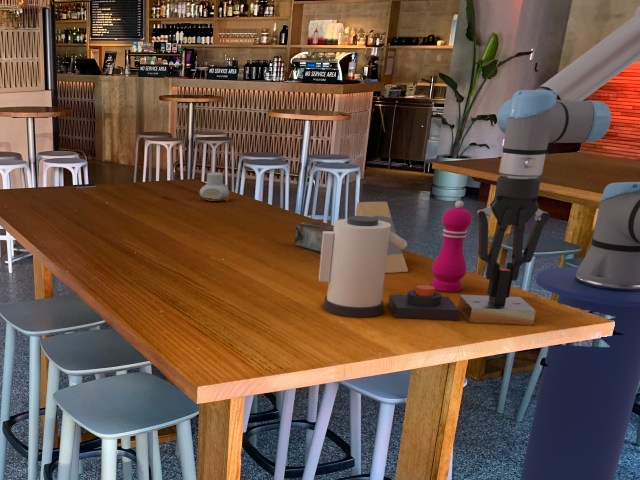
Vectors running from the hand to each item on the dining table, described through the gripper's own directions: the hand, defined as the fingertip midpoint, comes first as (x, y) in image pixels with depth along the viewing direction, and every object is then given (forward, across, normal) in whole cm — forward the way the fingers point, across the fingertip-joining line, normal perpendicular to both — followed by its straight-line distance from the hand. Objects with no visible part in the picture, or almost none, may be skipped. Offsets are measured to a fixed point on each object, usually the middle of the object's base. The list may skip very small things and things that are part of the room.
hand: (497, 295), depth 160 cm
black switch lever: (+1, 0, 0) cm, 1 cm away
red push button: (+1, -14, 0) cm, 14 cm away
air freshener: (+5, -71, +136) cm, 154 cm away
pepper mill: (+5, -6, +21) cm, 22 cm away
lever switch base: (+4, 0, 0) cm, 4 cm away
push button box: (+4, -14, 0) cm, 15 cm away
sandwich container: (+5, -19, +41) cm, 46 cm away
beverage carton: (+5, -32, +56) cm, 65 cm away
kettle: (+4, -28, 0) cm, 28 cm away
